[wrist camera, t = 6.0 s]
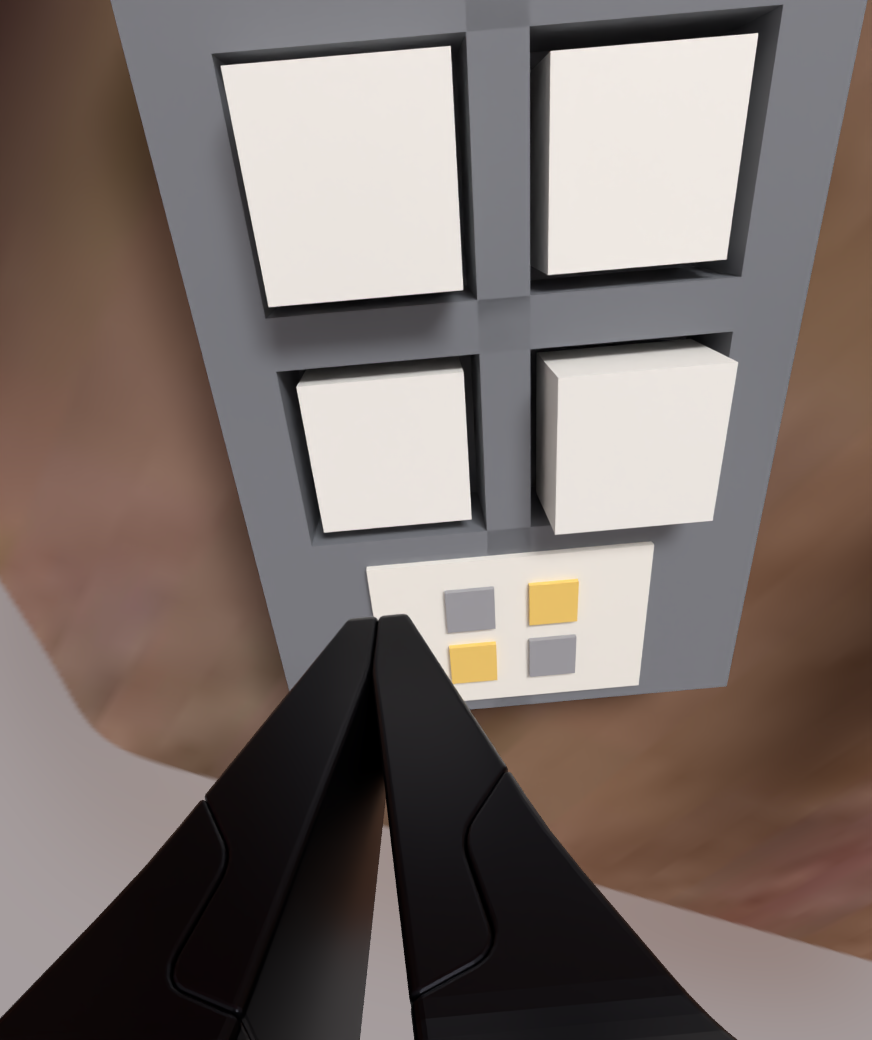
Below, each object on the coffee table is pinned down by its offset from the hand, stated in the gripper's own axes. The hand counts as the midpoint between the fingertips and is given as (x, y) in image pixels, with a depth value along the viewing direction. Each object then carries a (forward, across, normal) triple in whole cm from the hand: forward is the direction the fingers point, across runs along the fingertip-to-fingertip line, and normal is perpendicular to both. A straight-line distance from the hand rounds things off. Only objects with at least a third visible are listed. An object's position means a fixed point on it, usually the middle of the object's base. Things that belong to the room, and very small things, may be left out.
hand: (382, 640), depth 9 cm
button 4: (+9, -6, 0) cm, 11 cm away
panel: (+11, -3, -1) cm, 11 cm away
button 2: (+10, 0, 0) cm, 10 cm away
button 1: (+9, 0, -6) cm, 10 cm away
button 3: (+10, -6, -6) cm, 13 cm away
